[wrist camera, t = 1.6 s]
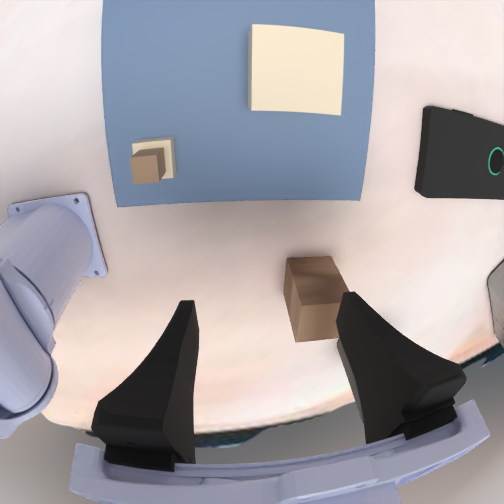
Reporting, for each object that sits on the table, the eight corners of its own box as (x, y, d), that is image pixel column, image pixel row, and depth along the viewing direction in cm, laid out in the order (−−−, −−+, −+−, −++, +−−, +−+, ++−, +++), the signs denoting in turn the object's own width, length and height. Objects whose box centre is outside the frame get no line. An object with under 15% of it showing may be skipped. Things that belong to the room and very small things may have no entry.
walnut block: (283, 293, 27) (295, 342, 22) (286, 257, 25) (301, 305, 20) (324, 291, 27) (342, 337, 22) (330, 256, 25) (354, 301, 20)
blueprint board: (123, 199, 21) (101, 227, 17) (111, -1, 12) (83, -17, 8) (352, 193, 22) (378, 219, 18) (365, 0, 13) (397, -14, 9)
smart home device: (529, 202, 22) (420, 200, 21) (520, 196, 23) (410, 192, 23) (541, 140, 18) (431, 104, 17) (532, 135, 19) (419, 101, 18)
